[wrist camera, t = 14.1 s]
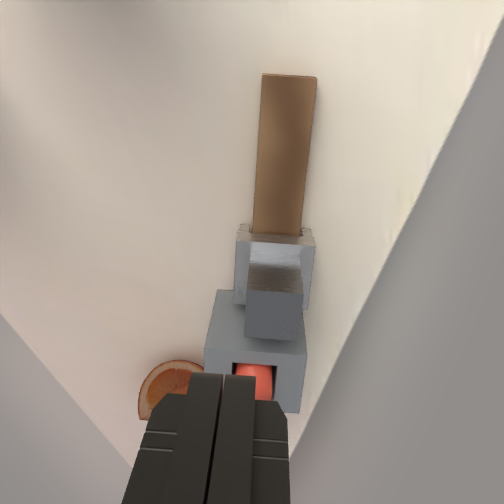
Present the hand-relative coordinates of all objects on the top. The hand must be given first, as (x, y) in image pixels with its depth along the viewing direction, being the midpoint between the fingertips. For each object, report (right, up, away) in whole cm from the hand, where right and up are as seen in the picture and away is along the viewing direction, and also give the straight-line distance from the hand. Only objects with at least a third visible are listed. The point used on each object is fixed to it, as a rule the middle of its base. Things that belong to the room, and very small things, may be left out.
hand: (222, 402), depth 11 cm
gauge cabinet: (+1, -3, +33) cm, 34 cm away
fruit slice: (-6, -10, +37) cm, 39 cm away
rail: (+3, +9, +28) cm, 29 cm away
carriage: (+3, +3, +30) cm, 31 cm away
